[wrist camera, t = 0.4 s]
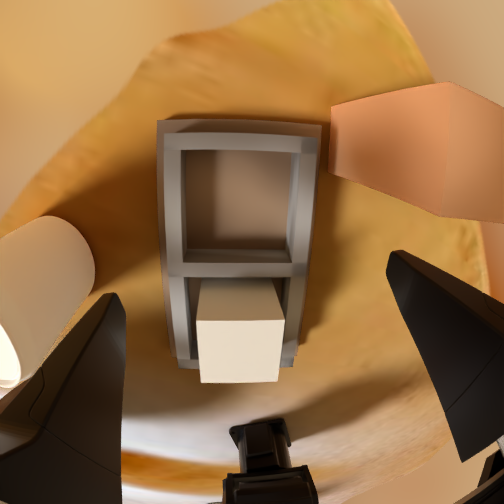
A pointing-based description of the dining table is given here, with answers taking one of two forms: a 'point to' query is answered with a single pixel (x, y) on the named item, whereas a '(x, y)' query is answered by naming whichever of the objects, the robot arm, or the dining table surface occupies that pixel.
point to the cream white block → (239, 330)
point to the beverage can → (39, 291)
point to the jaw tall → (425, 149)
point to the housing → (235, 216)
